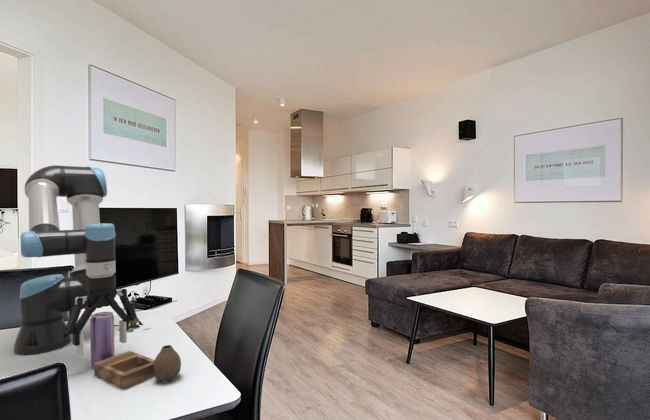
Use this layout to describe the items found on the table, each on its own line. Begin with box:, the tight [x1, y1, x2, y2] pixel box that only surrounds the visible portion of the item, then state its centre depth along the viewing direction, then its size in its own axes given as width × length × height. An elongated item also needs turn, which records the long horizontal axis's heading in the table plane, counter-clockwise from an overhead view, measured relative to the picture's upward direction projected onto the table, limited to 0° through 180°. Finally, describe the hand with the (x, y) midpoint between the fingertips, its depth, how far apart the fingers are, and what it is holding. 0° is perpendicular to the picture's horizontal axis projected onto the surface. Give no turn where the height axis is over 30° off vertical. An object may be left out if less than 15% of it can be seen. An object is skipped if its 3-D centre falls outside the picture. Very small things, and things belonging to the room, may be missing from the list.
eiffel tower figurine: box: [114, 296, 151, 334], centre depth 142 cm, size 15×10×13 cm
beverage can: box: [89, 311, 115, 369], centre depth 108 cm, size 6×6×15 cm
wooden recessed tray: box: [93, 350, 156, 390], centre depth 101 cm, size 15×10×4 cm, turn 58°
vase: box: [153, 344, 182, 383], centre depth 99 cm, size 7×7×9 cm
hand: (102, 348), depth 108 cm, fingers open, 11 cm apart
